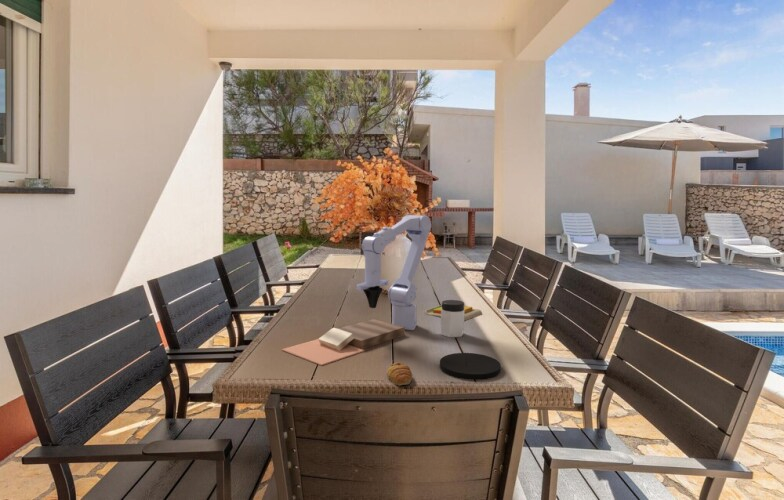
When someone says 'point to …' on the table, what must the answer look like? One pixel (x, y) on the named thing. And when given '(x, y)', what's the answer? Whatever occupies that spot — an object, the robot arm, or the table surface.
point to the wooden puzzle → (468, 312)
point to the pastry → (399, 373)
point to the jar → (452, 318)
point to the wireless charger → (470, 366)
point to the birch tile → (336, 338)
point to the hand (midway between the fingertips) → (372, 307)
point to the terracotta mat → (321, 352)
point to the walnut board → (372, 333)
